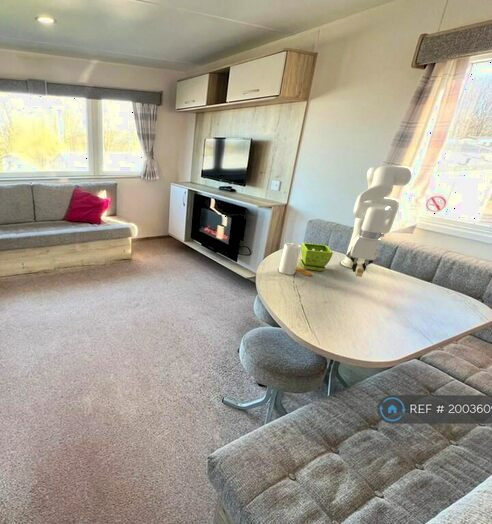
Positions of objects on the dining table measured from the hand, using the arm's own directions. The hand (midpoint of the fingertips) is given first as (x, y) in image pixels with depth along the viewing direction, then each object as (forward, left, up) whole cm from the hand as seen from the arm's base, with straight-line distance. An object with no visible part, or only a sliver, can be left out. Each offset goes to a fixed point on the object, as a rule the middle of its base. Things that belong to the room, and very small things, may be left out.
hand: (357, 271), depth 147 cm
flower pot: (-18, -30, -13) cm, 37 cm away
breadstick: (-5, -28, -13) cm, 31 cm away
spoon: (-2, -1, 0) cm, 2 cm away
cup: (+2, -33, -13) cm, 36 cm away
